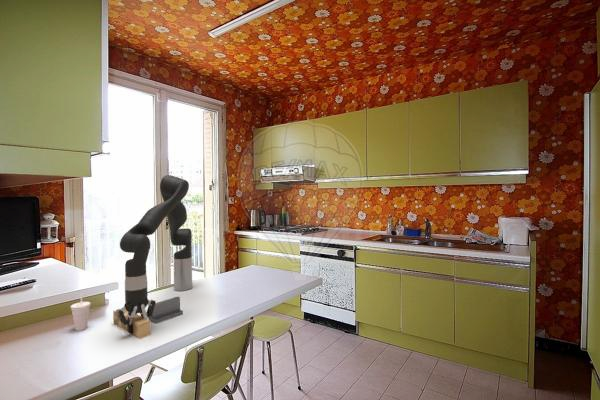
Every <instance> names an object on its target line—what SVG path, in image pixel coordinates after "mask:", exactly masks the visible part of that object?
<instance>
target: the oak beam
mask: <svg viewBox="0 0 600 400" xmlns="http://www.w3.org/2000/svg"><path fill="white" fill-rule="evenodd" d="M116 311H117V309H114V310H113V312H112V313H113V314H112V315H113V316H112V317H113V325H115V326H116V325H117V327H119V329H122V330H124V331H125V332H127V324H126V325H124V324H123V323H121V321H120V319H119V316H118V314H117V312H116ZM127 314H128V311H127V310H125V314H124V316H125V318H126V320H127ZM132 324H133V334H131V335H133V336H134V337H136V339H137V338H138V339H139V340H141V339H143V338H146V337H149V336H151V334H152V333H151V331H152V330H151V321H150V320H149V319H148V318H147V319H146V318H144V317H142V316H141V314H139V313H137V314H135V317H134V319H133V323H132Z"/></svg>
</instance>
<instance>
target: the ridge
mask: <svg viewBox="0 0 600 400" xmlns="http://www.w3.org/2000/svg"><path fill="white" fill-rule="evenodd" d="M183 314H184V313H183V310H182V309H181V297H180V296H175V297H172V298H168V299H164V300H161V301H158V302H156V303H155V307H154V310H153V314H152V316H151V317H148V318H147V319H148V320H150V323H154V324H155V325H156V324H159V323H162V322H165V321H168V320H170V319H173V318H174V319H175V318H176V317H179V316H182V315H183Z"/></svg>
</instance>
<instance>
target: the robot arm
mask: <svg viewBox="0 0 600 400" xmlns="http://www.w3.org/2000/svg"><path fill="white" fill-rule="evenodd" d="M189 187H190V184H189V182H188V181H187V180H186V179H184V178H180V177H178V176H175V175H171V174H167V175H166V174H165V175H164V176H163V177H162V178H161V179H160V183H159V191H160V195H161V197H162V200H163V202H161V203H159V204H157V205H154V206H153V207H151V208H149V209H148V210H147V211H146V212H145V214H143V216H142V217H141V219H140V220H139V221H138V223H137V224H134V225H133V227H131V228H130V229H129V230H128V231H127V232H125V233H124V234H123V236H122V237H121V239H120V241H119V248H120V249H121V251H122V252H125V253H127V254H128V253H130V254H131V253H133V257H132V258H130V259H128V260H126V262H125V264H124V271H125V272H124V274H125V277H124V278H125V279H124V302H125V303H124V305H123V307H122V308H117V309H116V310H117V311H116V312H117V314H118V316H119V319H120V321H121V323H123V324H124V325H126V324H127V331H126V332H127V333H128V334H129V335H132V334H133V324H132V323H133V319H134V317H135V314H139V315H140V316H142V317H144V318H146V319H148V317H151V316H152V314H153V310H154V307H155V303H157V302H156V300H154V299H148V277H147V261H148V257H149V253H150V249H151V240H150V238H149V237H148V236H151V235H153V234H155V232H156V231H157V230H158V228H159V227H160V226H161V224H162V223H163V221H164V220H165V218H167V223H168V226H169V227H168V228H169V235H170V237H169V238H170V243H171V244H172V246H176V247H177V246H185V247H184V248H181V250H178V251H175V252H174V253H173V288H174V291H177V292H181V291H183V292H184V291H189V290H191V289H192V288H193V262H192V261H193V260H192V259H193V258H192V255H193V254H192V236H193V234H192V229H191V228H188V227H187V228H182V226H183V225H184V224H185V223H186V221H187V219H188V215H187V214H188V213H187V212H188V211H187V208H186V206H185V204H184V203H183V202H182V201H183V199H184V198H185V197H186V195H187V194H188V191H189ZM146 307H147V309H146ZM125 310H127V311H128V314H127V320H126V318H125V316H124V314H125Z"/></svg>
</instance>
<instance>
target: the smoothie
mask: <svg viewBox="0 0 600 400" xmlns="http://www.w3.org/2000/svg"><path fill="white" fill-rule="evenodd" d="M79 294H80V297H79V298H80V301H79V302H77V303H76V302H75V303H73V304H72V305H71V304H70V310H71V313H72V319H73V323H74V328H75V331H76V332H81V331H84V330H86V329H88V323H89V316H90V315H89V314H90V307H91V302H90V301H83V293H79Z"/></svg>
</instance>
